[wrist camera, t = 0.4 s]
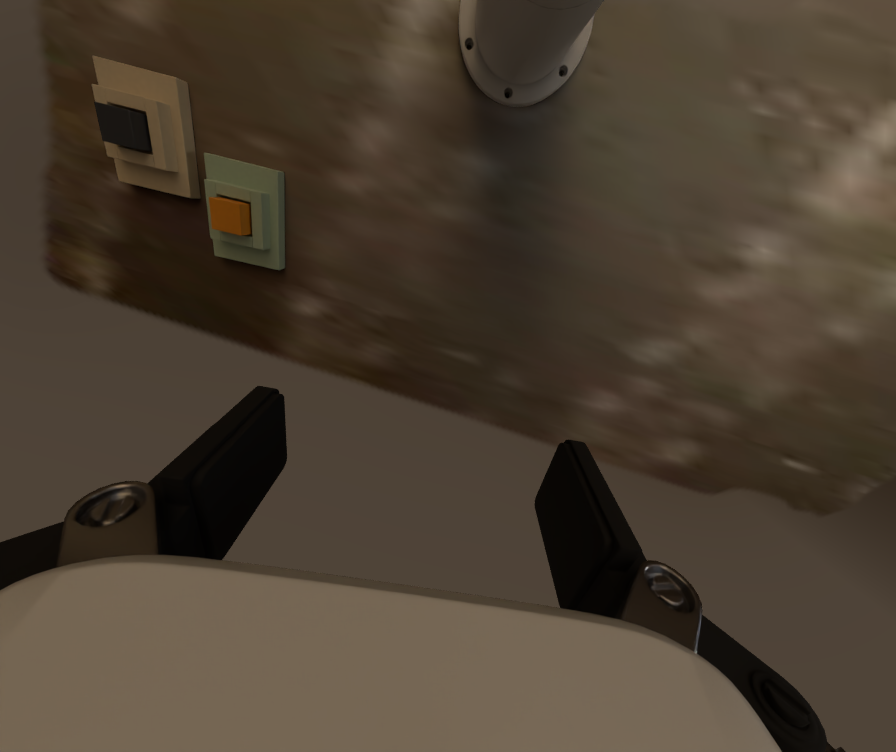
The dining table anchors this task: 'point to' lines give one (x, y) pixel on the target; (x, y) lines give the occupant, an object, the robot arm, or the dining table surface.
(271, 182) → the key block
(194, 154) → the key block
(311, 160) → the dining table surface
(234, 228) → the key
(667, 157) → the dining table surface
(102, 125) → the key
